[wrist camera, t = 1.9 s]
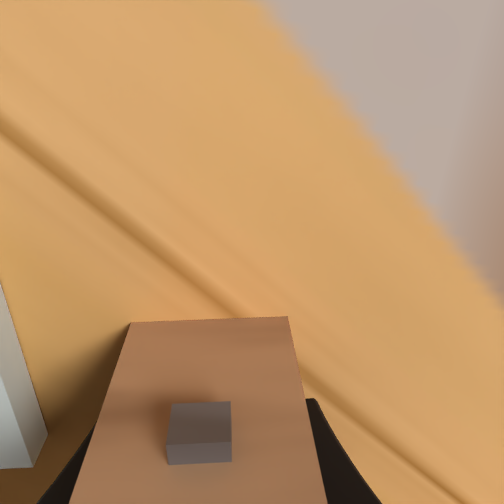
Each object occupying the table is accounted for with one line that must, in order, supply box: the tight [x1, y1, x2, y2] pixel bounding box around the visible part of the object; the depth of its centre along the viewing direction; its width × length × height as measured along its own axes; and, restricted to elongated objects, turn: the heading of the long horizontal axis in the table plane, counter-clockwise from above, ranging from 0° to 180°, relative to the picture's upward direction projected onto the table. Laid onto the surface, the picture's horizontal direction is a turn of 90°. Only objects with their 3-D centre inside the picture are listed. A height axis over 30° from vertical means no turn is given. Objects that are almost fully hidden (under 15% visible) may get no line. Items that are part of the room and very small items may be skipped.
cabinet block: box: [69, 316, 327, 504], centre depth 11 cm, size 6×4×6 cm
